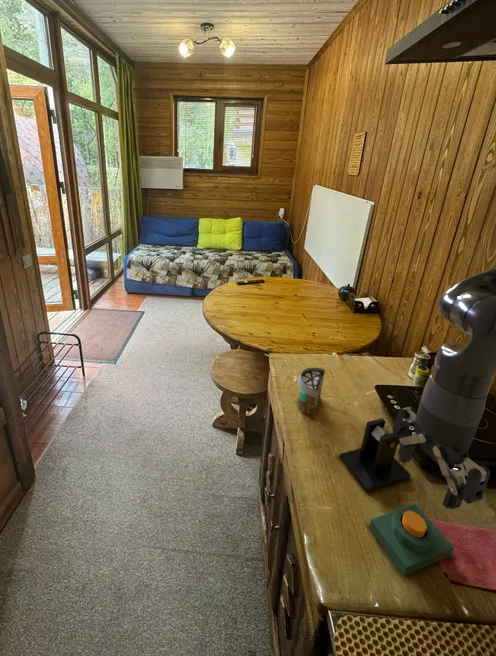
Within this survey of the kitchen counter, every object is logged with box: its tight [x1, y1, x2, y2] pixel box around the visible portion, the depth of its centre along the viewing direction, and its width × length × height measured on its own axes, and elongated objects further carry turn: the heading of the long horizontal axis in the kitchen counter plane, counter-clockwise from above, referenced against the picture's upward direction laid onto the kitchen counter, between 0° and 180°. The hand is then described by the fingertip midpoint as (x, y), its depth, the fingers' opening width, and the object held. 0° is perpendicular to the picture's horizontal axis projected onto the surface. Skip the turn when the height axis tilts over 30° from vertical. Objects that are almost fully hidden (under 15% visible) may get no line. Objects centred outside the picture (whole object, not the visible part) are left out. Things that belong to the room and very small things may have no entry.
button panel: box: [368, 503, 455, 576], centre depth 57 cm, size 11×8×4 cm
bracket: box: [338, 417, 412, 494], centre depth 70 cm, size 12×9×12 cm
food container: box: [297, 367, 326, 419], centre depth 90 cm, size 12×6×10 cm, turn 149°
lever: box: [371, 426, 416, 446], centre depth 71 cm, size 13×3×3 cm, turn 105°
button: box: [402, 511, 427, 538], centre depth 57 cm, size 4×4×2 cm
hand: (424, 481), depth 54 cm, fingers open, 8 cm apart
